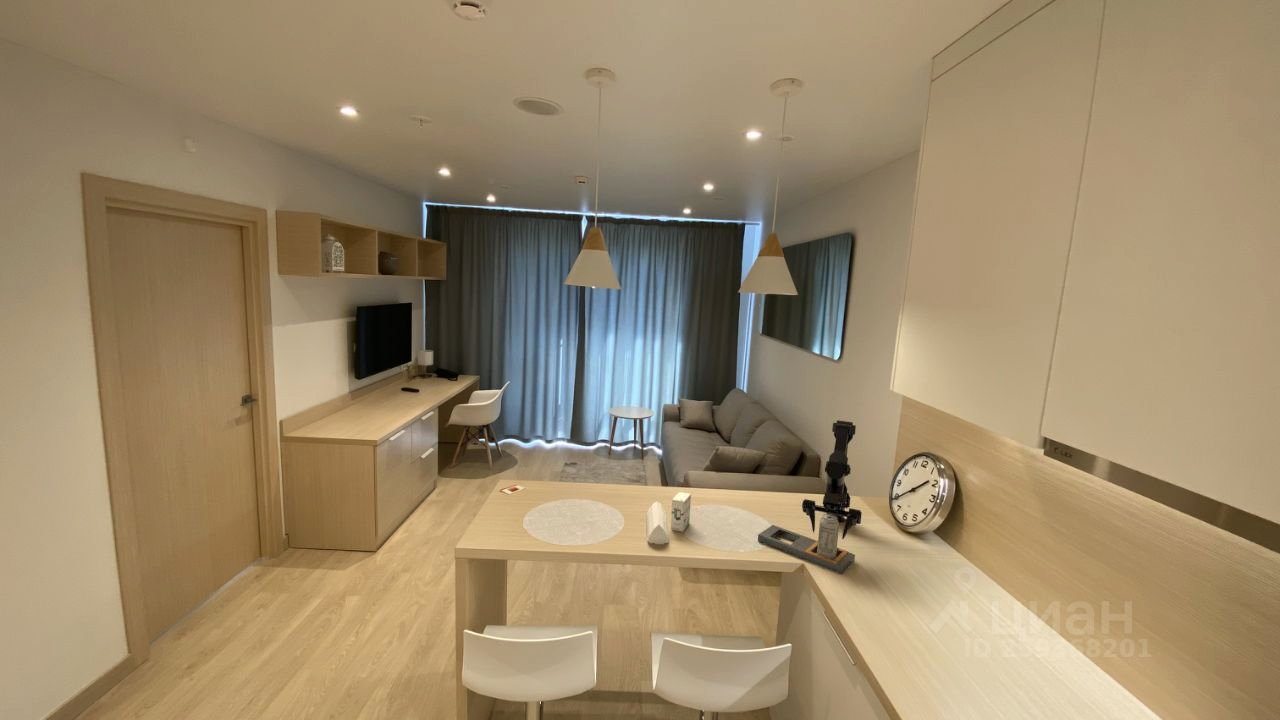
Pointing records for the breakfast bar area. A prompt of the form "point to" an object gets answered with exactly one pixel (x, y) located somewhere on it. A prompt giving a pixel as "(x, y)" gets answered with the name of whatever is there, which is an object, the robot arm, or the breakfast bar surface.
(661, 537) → the pointed wooden block
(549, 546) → the breakfast bar surface
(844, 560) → the grey flat block
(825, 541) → the energy drink can
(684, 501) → the ink box
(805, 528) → the breakfast bar surface
